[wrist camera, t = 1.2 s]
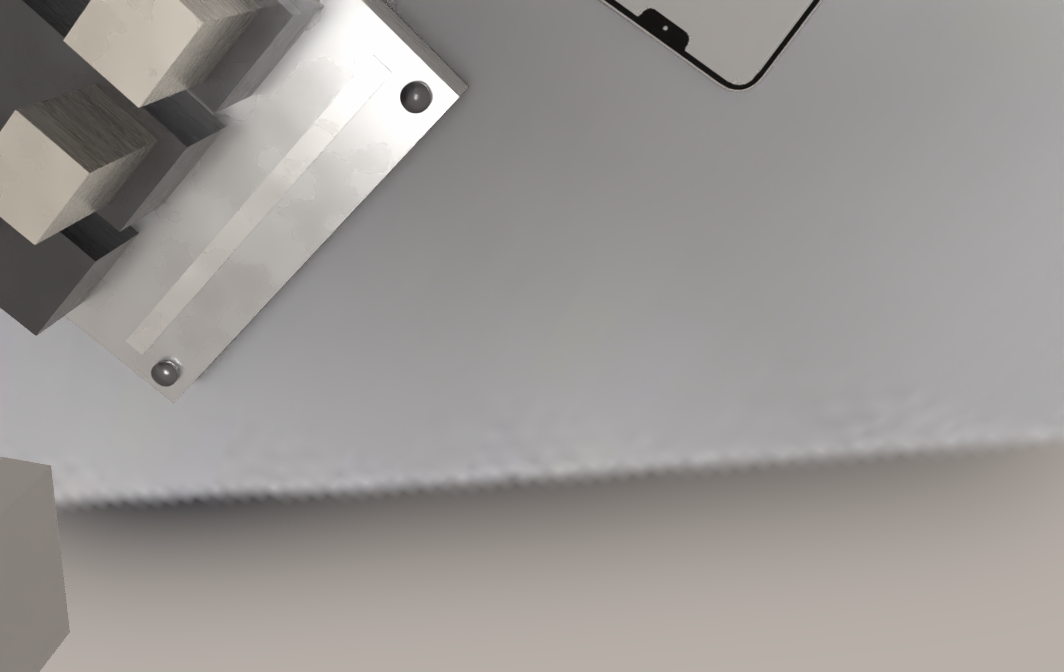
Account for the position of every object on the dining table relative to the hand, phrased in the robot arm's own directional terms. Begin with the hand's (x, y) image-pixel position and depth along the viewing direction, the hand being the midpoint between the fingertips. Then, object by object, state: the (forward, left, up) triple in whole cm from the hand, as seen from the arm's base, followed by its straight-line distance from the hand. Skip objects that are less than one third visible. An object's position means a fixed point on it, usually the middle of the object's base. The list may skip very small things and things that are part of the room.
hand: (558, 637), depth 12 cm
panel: (-15, -10, -23) cm, 30 cm away
